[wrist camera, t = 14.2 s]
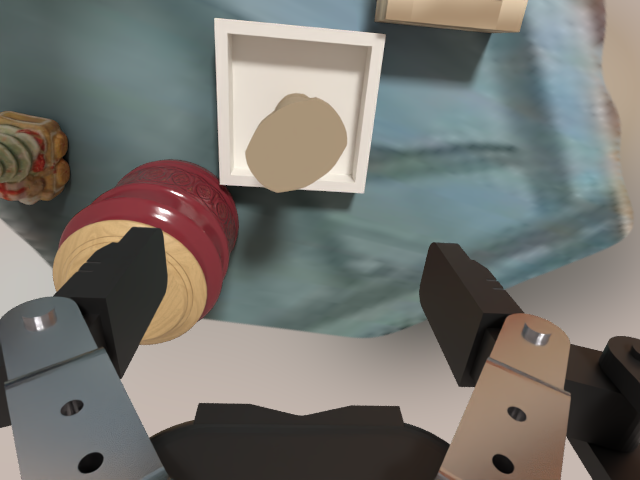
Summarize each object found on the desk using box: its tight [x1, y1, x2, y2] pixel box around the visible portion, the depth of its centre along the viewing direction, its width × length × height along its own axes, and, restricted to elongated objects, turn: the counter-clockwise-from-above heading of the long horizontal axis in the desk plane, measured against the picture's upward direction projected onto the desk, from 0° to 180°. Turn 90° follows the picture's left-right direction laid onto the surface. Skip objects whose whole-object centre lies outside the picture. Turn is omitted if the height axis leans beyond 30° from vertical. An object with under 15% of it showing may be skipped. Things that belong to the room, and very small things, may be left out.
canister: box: [53, 159, 239, 345], centre depth 35 cm, size 13×13×18 cm
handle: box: [245, 93, 347, 193], centre depth 31 cm, size 5×6×15 cm
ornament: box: [0, 111, 70, 205], centre depth 35 cm, size 8×6×10 cm
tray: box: [214, 18, 386, 193], centre depth 37 cm, size 14×14×4 cm
